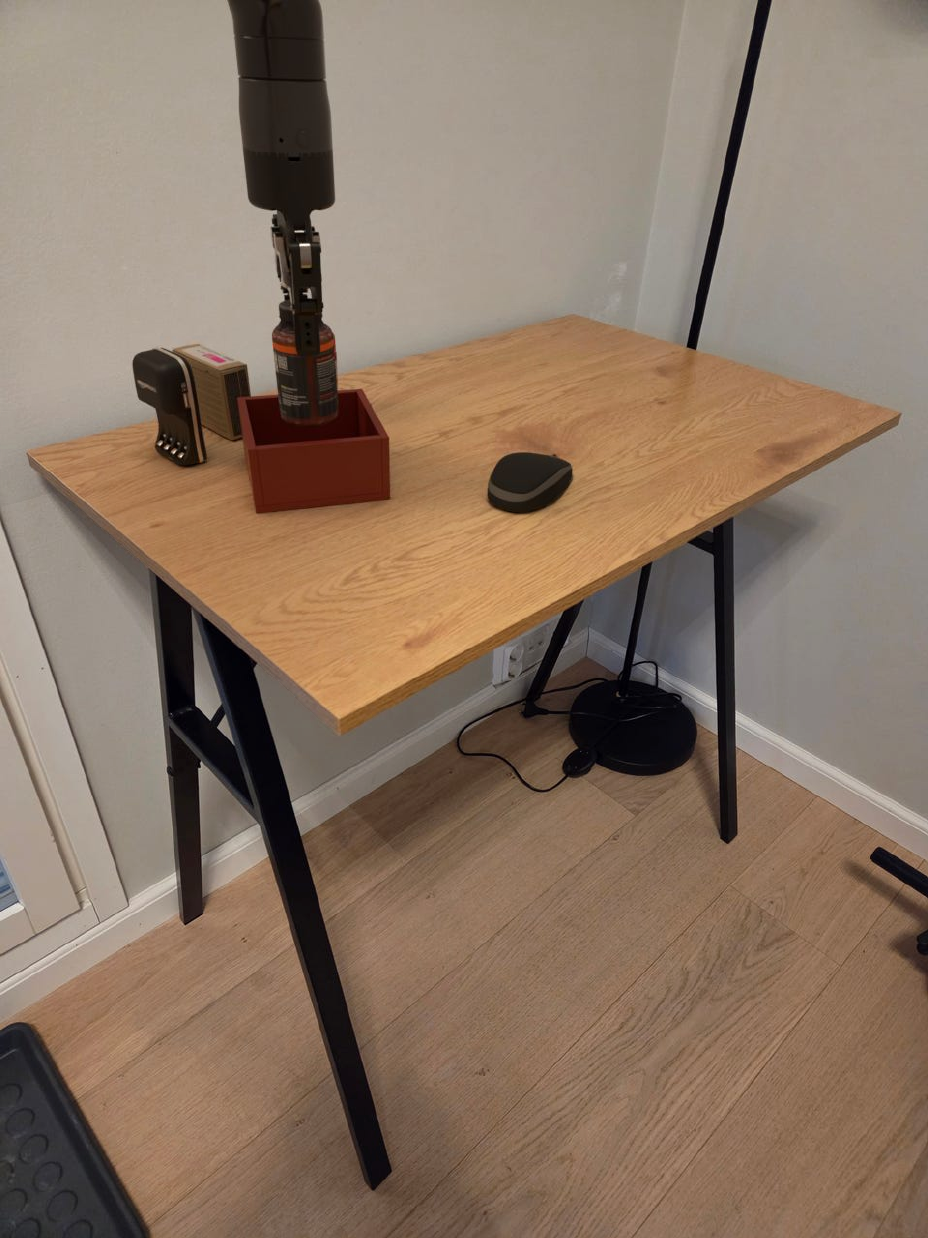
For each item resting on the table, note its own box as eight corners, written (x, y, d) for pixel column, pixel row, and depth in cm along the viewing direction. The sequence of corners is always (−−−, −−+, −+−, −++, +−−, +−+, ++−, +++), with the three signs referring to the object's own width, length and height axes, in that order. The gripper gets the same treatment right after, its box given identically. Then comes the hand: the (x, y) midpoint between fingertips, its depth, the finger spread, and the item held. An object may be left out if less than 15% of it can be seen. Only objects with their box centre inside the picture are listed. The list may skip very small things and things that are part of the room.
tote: (256, 513, 78) (247, 449, 74) (244, 455, 89) (236, 397, 85) (390, 499, 82) (389, 437, 78) (364, 445, 92) (362, 388, 88)
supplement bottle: (344, 409, 83) (339, 297, 77) (331, 431, 79) (324, 314, 72) (289, 404, 84) (278, 292, 77) (272, 426, 79) (260, 309, 72)
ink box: (258, 434, 93) (249, 363, 88) (230, 442, 91) (219, 370, 86) (210, 409, 99) (200, 341, 94) (183, 416, 97) (170, 347, 92)
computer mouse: (586, 478, 87) (590, 444, 85) (530, 521, 79) (534, 485, 77) (531, 460, 90) (534, 427, 88) (472, 500, 82) (474, 465, 80)
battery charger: (145, 452, 88) (122, 349, 81) (175, 442, 91) (156, 342, 84) (179, 472, 85) (158, 367, 78) (210, 462, 87) (192, 358, 80)
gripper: (235, 133, 71) (257, 324, 81) (249, 153, 60) (272, 371, 70) (319, 134, 73) (329, 321, 83) (347, 154, 62) (355, 366, 72)
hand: (303, 343), depth 77 cm, fingers closed on supplement bottle, 6 cm apart
